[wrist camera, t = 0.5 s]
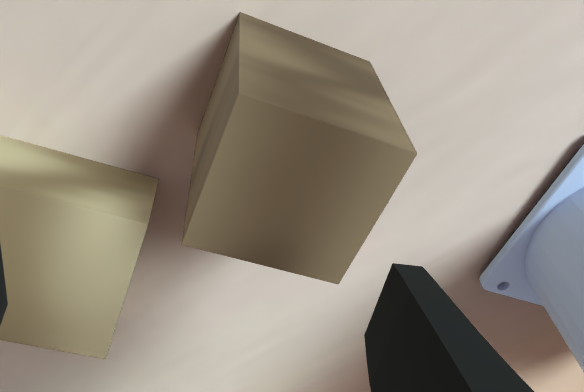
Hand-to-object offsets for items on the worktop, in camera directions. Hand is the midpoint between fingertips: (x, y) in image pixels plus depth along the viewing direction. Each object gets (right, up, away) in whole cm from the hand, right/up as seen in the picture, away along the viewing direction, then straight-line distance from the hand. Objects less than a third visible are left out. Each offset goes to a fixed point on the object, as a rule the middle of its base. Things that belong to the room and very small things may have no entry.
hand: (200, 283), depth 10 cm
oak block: (-8, +1, +11) cm, 13 cm away
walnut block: (+1, +5, +8) cm, 10 cm away
